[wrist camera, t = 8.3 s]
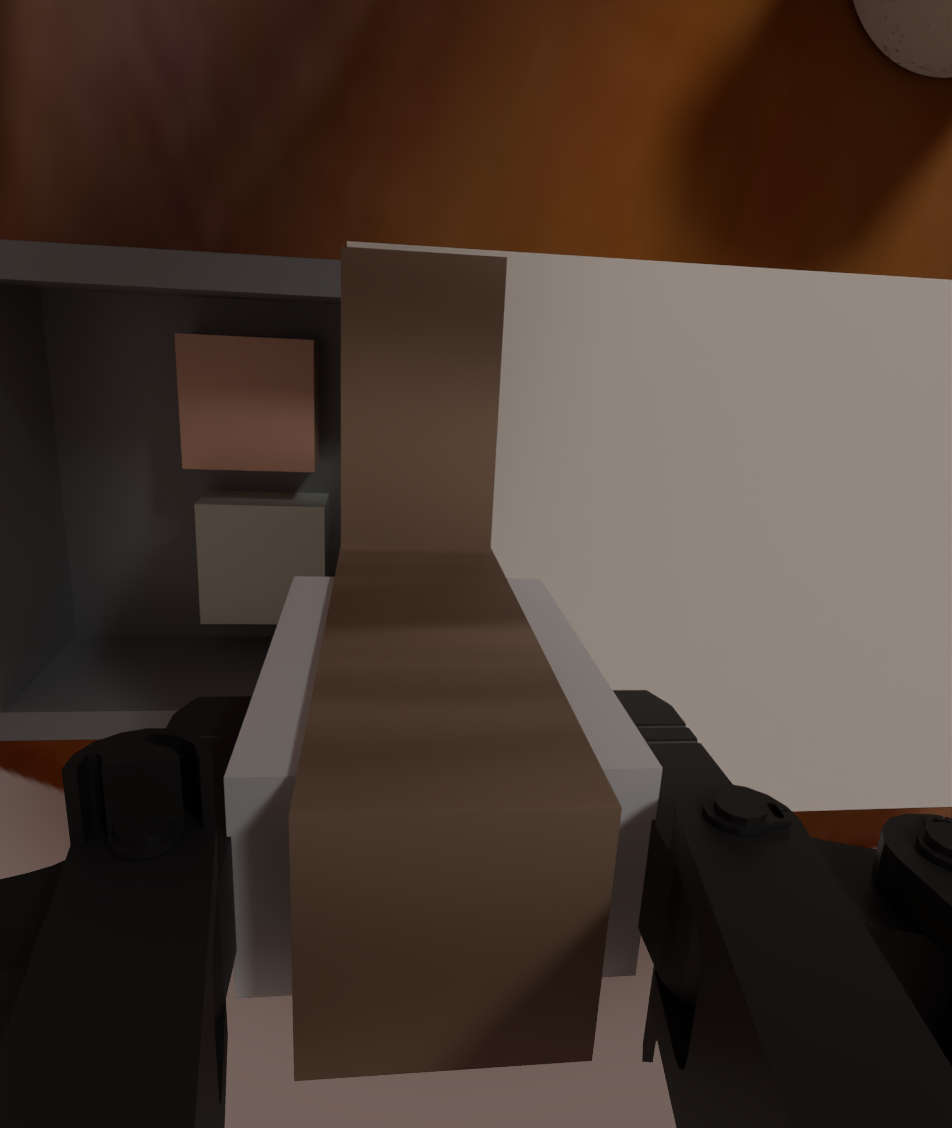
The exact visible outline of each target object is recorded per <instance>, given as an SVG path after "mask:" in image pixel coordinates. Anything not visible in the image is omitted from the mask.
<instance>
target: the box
mask: <svg viewBox="0 0 952 1128" xmlns="http://www.w3.org/2000/svg"><path fill="white" fill-rule="evenodd" d="M174 333H200V334H220V335H240V336H260V337H280V338H300V339H319V394H320V462H319V464H318V467H317V469H316V471H315V472H280V471H244V470H209V469H182V453H181V436H180V419H179V402H178V385H177V368H176V351H175V334H174ZM209 490H223V491H260V492H297V493H329V577H335V572H336V567H337V562H338V557H339V552H340V547H341V260H331V259H314V258H298V257H282V256H265V255H249V254H232V253H216V252H200V251H183V250H167V249H150V248H134V247H118V246H101V245H85V244H68V243H52V242H36V241H19V240H3V239H0V741H28V740H90V739H104V738H107V737H109V736H112V735H115V734H118V733H122V732H128V731H134V730H140V729H146V728H166V727H167V725H168V723H169V721H170V719H171V718H172V716H173V714H174V713H176V712H177V711H178V710H180V709H181V708H183V707H184V706H186V705H187V704H188V703H190V702H191V701H193V700H194V699H195V698H197V697H223V696H253V693H254V690H255V687H256V684H257V681H258V679H259V676H260V673H261V670H262V667H263V664H264V661H265V659H266V656H267V653H268V650H269V647H270V644H271V642H272V639H273V636H274V633H275V630H276V627H277V624H201V622H200V603H199V584H198V565H197V546H196V527H195V509H194V504H195V503H196V502H197V501H198V500H199V499H200V498H201V497H202V496H203V495H205V494H206V493H207V492H208V491H209Z"/></svg>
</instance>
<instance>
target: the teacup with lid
mask: <svg viewBox="0 0 952 1128" xmlns="http://www.w3.org/2000/svg"><path fill="white" fill-rule="evenodd" d="M853 3H854V6H855V9H856V11H857V14H858V16H859V19H860V21H861V23H862V25H863V27H864V28H865V30H866V32H867V33H868V35H869V37H870V38H871V39H872V41H873V42H874V43H875V44H876V46H877V47H878V48H879V49H880V50H881V51H882V52H883V53H884V54H885V55H886V56H887V57H889V58H890V59H891V60H892V61H894V62H895V63H897V64H898V65H900V66H901V67H903V68H905V69H908V70H910V71H912V72H915V73H918V74H921V75H925V76H930V77H939V78H949V77H952V0H853Z"/></svg>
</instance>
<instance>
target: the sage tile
mask: <svg viewBox="0 0 952 1128" xmlns="http://www.w3.org/2000/svg"><path fill="white" fill-rule="evenodd" d="M194 509H195V527H196V546H197V565H198V584H199V603H200V622H201V624H278V622H279V619H280V616H281V613H282V610H283V607H284V604H285V602H286V599H287V596H288V593H289V590H290V587H291V585H292V582H293V579H294V576H309V577H329V493H297V492H260V491H223V490H209V491H208V492H207V493H206V494H205V495H203V496H202V497H201V498H200V499H199V500H198V501H197V502H196V503H195V504H194Z"/></svg>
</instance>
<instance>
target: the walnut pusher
mask: <svg viewBox="0 0 952 1128" xmlns="http://www.w3.org/2000/svg"><path fill="white" fill-rule="evenodd" d="M506 270H507V257H496V256H480V255H465V254H450V253H434V252H419V251H404V250H388V249H373V248H358V247H342V246H341V547H340V552H339V557H338V562H337V567H336V572H335V578H334V583H333V588H332V593H331V598H330V604H329V609H328V614H327V619H326V624H325V630H324V635H323V640H322V645H321V650H320V656H319V661H318V666H317V671H316V676H315V682H314V687H313V692H312V697H311V702H310V707H309V713H308V718H307V723H306V728H305V733H304V739H303V744H302V749H301V754H300V759H299V765H298V770H297V775H296V780H295V785H294V791H293V796H292V801H291V806H290V811H289V817H288V818H289V862H290V907H291V952H292V997H293V1038H294V1039H293V1041H294V1081H302V1080H316V1079H331V1078H344V1077H345V1078H346V1077H360V1076H375V1075H388V1074H405V1073H419V1072H433V1071H447V1070H462V1069H477V1068H492V1067H507V1066H522V1065H535V1064H551V1063H566V1062H579V1061H592V1055H593V1046H594V1039H595V1030H596V1022H597V1013H598V1004H599V996H600V988H601V980H602V971H603V963H604V954H605V946H606V938H607V929H608V921H609V912H610V904H611V896H612V887H613V879H614V870H615V862H616V854H617V845H618V837H619V828H620V820H621V812H622V807H621V805H620V803H619V801H618V799H617V797H616V795H615V793H614V791H613V789H612V787H611V785H610V783H609V781H608V779H607V777H606V775H605V773H604V771H603V769H602V767H601V765H600V763H599V761H598V759H597V757H596V755H595V753H594V751H593V749H592V747H591V745H590V743H589V741H588V740H587V738H586V736H585V734H584V732H583V730H582V728H581V726H580V724H579V722H578V720H577V718H576V716H575V714H574V712H573V710H572V708H571V706H570V704H569V702H568V700H567V698H566V696H565V694H564V692H563V690H562V688H561V686H560V684H559V682H558V680H557V678H556V676H555V674H554V672H553V670H552V668H551V666H550V664H549V662H548V660H547V658H546V656H545V654H544V652H543V650H542V648H541V646H540V644H539V642H538V640H537V638H536V636H535V634H534V632H533V630H532V628H531V626H530V624H529V622H528V620H527V618H526V616H525V614H524V612H523V610H522V608H521V606H520V604H519V602H518V600H517V598H516V597H515V595H514V593H513V591H512V589H511V587H510V585H509V583H508V581H507V579H506V577H505V575H504V573H503V571H502V569H501V567H500V565H499V563H498V561H497V559H496V557H495V555H494V553H493V551H492V549H491V533H492V515H493V498H494V480H495V463H496V445H497V428H498V410H499V393H500V375H501V358H502V340H503V323H504V305H505V288H506Z"/></svg>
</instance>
